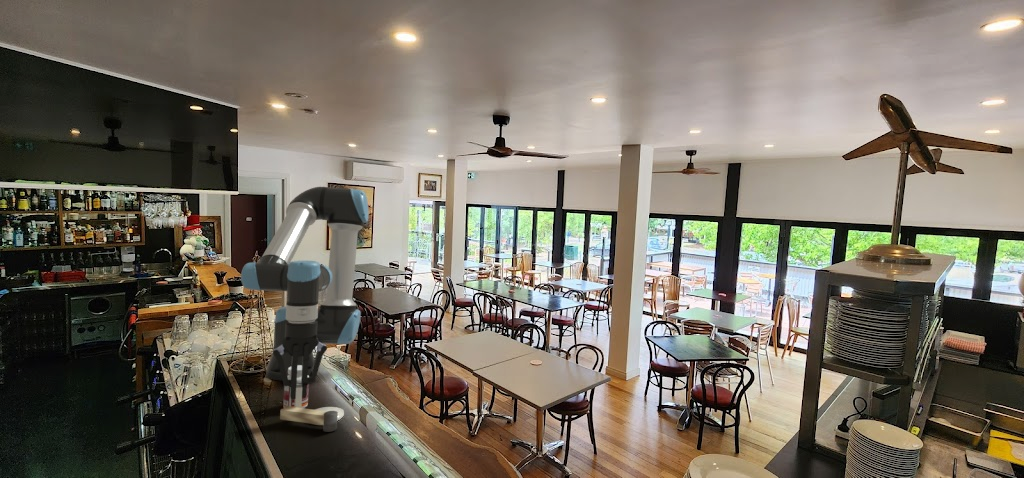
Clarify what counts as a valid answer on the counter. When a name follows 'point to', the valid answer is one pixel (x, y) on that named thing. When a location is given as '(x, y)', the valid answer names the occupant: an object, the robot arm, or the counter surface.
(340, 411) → the seat pad
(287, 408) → the hinged leg
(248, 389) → the counter surface
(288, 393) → the pill bottle
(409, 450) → the counter surface
